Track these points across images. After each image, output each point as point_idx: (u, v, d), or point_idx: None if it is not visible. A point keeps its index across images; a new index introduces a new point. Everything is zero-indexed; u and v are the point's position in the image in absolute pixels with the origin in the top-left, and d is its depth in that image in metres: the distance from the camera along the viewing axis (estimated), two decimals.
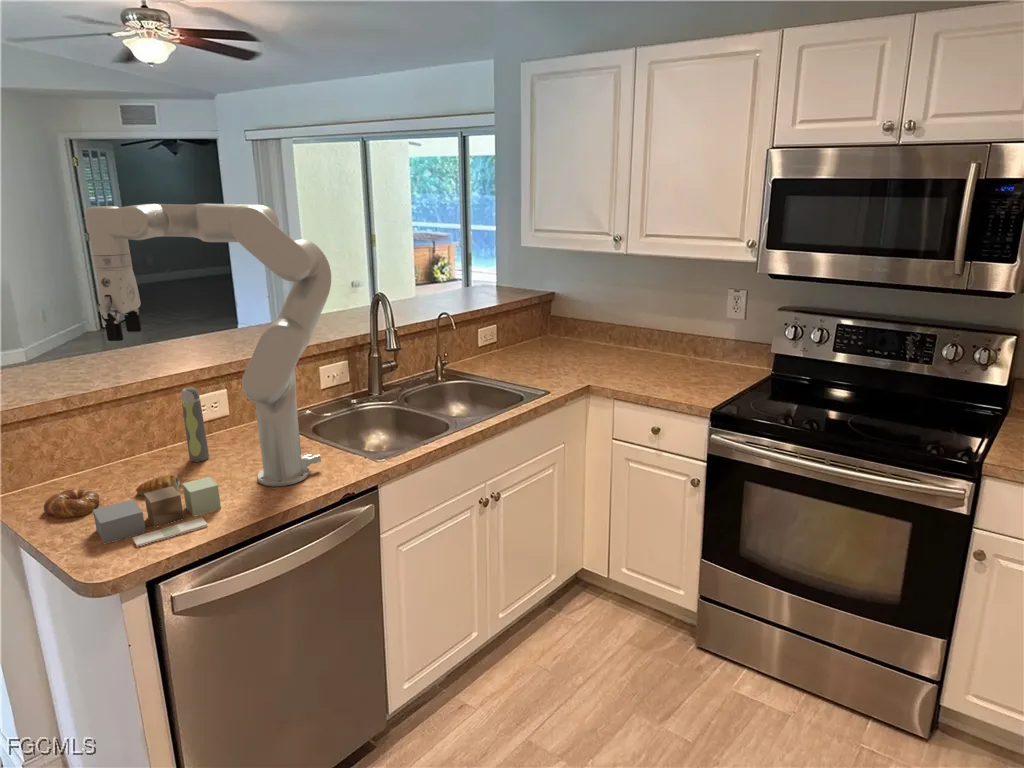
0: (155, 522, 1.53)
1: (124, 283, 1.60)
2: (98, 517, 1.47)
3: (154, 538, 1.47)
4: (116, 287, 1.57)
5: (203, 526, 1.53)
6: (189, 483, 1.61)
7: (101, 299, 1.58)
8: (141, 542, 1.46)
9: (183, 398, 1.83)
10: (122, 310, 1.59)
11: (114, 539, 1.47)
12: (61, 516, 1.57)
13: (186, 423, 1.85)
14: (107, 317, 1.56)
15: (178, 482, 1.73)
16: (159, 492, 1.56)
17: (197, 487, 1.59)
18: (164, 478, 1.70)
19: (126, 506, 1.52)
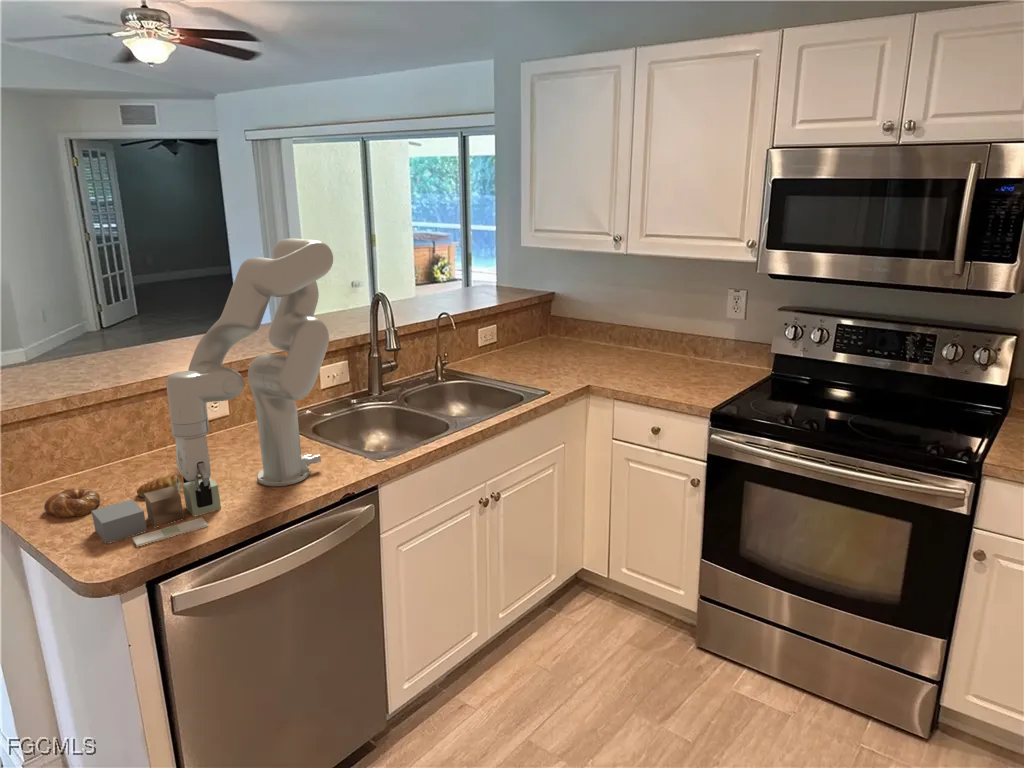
0: (155, 522, 1.53)
1: (176, 446, 1.57)
2: (99, 517, 1.47)
3: (154, 538, 1.47)
4: None
5: (203, 526, 1.53)
6: (189, 483, 1.61)
7: None
8: (141, 542, 1.46)
9: None
10: None
11: (116, 539, 1.47)
12: (61, 516, 1.57)
13: None
14: None
15: (178, 483, 1.73)
16: (159, 492, 1.56)
17: None
18: (165, 479, 1.69)
19: (126, 506, 1.52)
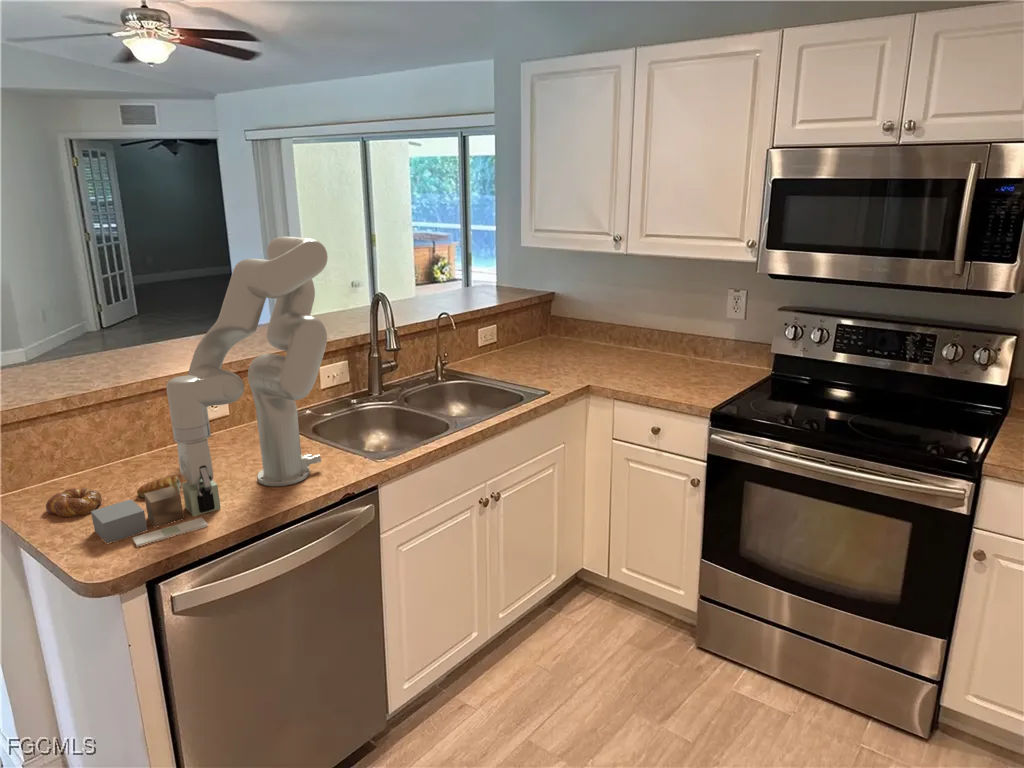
0: (155, 522, 1.53)
1: (178, 450, 1.58)
2: (99, 518, 1.47)
3: (154, 538, 1.47)
4: None
5: (203, 526, 1.53)
6: None
7: None
8: (141, 542, 1.46)
9: None
10: None
11: (116, 539, 1.47)
12: (63, 515, 1.57)
13: None
14: None
15: (179, 483, 1.73)
16: (159, 492, 1.56)
17: None
18: (165, 479, 1.69)
19: (126, 506, 1.52)
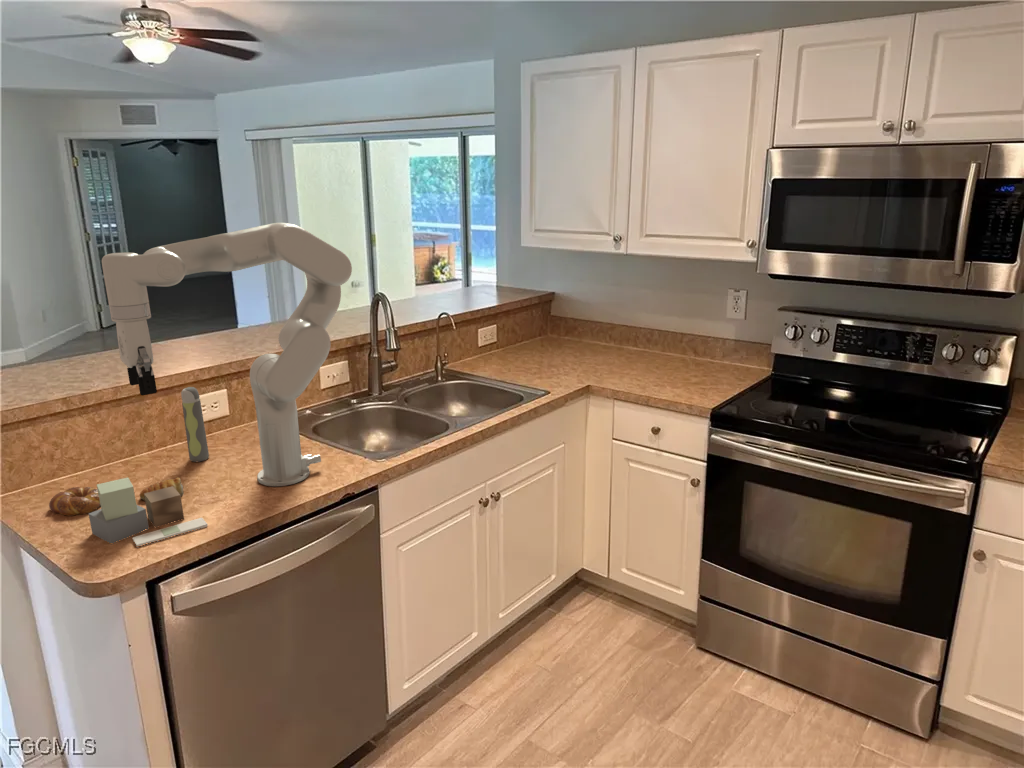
0: (155, 522, 1.53)
1: (117, 332, 1.51)
2: (100, 519, 1.47)
3: (154, 538, 1.47)
4: None
5: (203, 526, 1.53)
6: (104, 484, 1.49)
7: None
8: (141, 542, 1.46)
9: (183, 398, 1.83)
10: None
11: (120, 538, 1.48)
12: (66, 513, 1.58)
13: (186, 423, 1.85)
14: None
15: (181, 485, 1.71)
16: (160, 492, 1.56)
17: (111, 488, 1.47)
18: (168, 482, 1.68)
19: None
